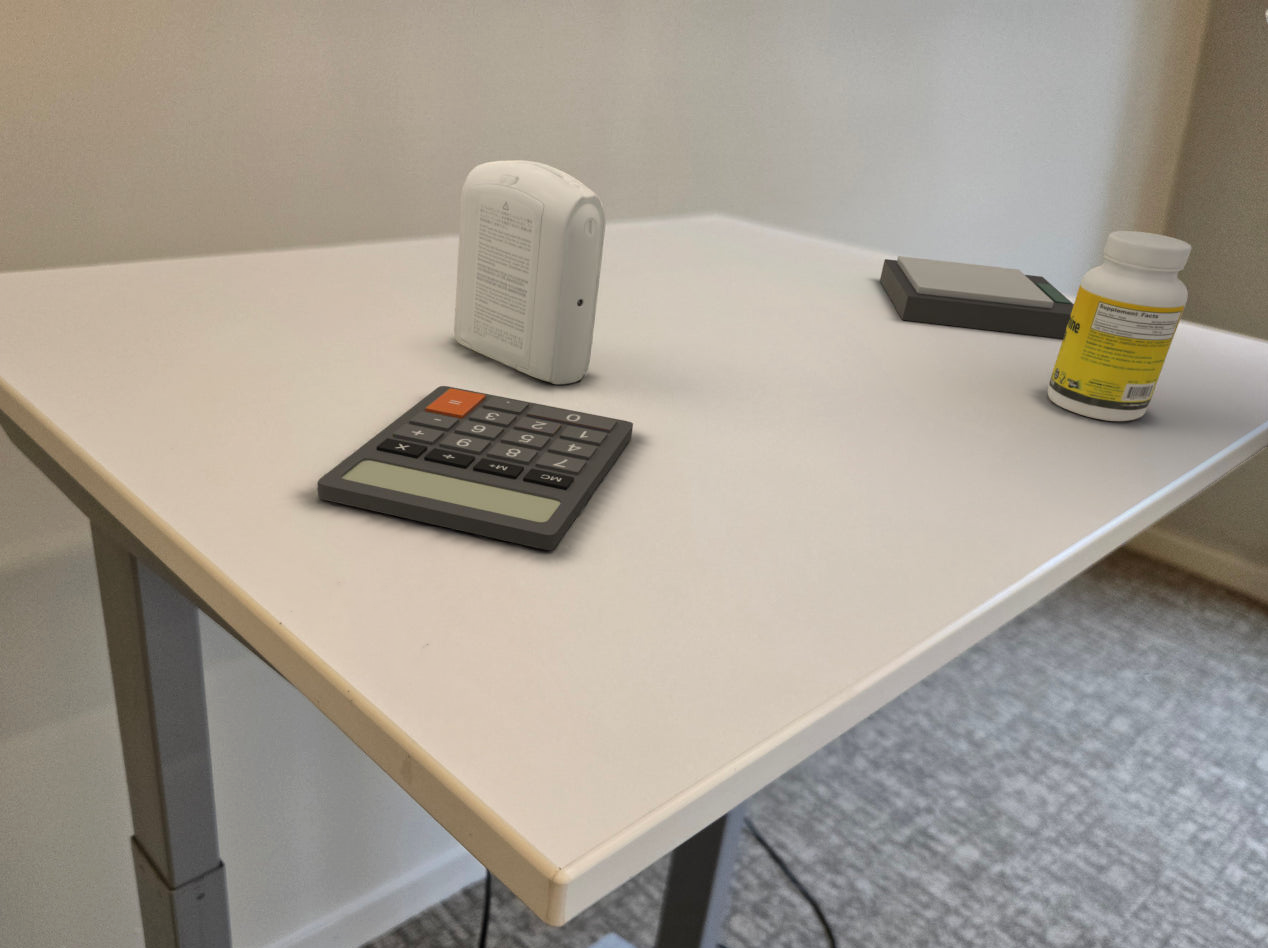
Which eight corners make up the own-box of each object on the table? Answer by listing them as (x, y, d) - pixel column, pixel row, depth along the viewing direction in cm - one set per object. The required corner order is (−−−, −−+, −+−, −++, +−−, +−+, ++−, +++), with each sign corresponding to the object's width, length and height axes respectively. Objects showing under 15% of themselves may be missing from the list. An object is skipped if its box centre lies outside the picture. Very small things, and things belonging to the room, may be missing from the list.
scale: (1036, 298, 97) (1044, 269, 96) (1079, 340, 86) (1090, 308, 85) (879, 280, 98) (886, 252, 97) (902, 320, 87) (909, 288, 86)
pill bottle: (1055, 383, 75) (1107, 223, 70) (1151, 407, 72) (1212, 241, 67) (1034, 405, 71) (1087, 235, 66) (1135, 431, 68) (1199, 256, 63)
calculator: (635, 419, 60) (553, 532, 47) (633, 434, 60) (552, 551, 47) (441, 381, 62) (314, 479, 50) (440, 396, 63) (314, 497, 50)
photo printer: (599, 378, 69) (621, 176, 63) (552, 391, 66) (570, 181, 60) (491, 334, 75) (502, 147, 69) (444, 344, 72) (451, 150, 66)
